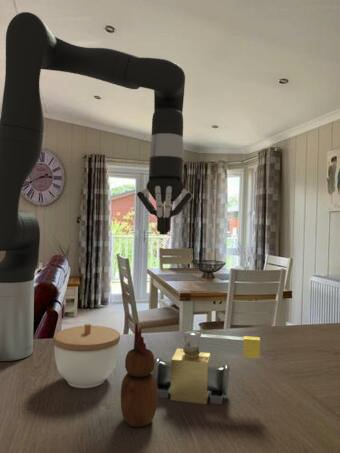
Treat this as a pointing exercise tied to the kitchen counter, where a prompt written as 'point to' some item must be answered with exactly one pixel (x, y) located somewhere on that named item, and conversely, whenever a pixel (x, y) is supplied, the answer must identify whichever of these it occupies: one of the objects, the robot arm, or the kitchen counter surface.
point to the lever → (221, 344)
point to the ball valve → (191, 378)
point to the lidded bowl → (86, 354)
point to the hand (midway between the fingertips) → (163, 234)
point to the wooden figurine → (139, 384)
